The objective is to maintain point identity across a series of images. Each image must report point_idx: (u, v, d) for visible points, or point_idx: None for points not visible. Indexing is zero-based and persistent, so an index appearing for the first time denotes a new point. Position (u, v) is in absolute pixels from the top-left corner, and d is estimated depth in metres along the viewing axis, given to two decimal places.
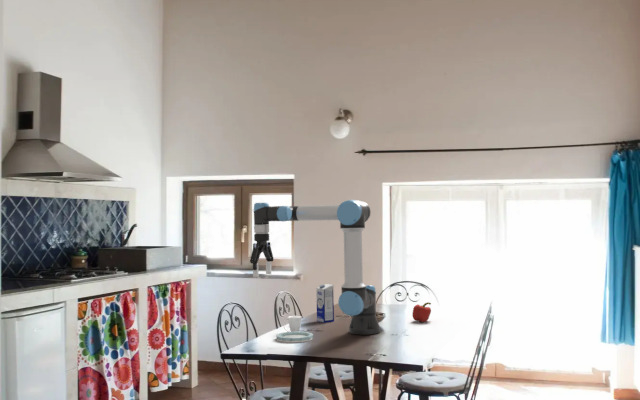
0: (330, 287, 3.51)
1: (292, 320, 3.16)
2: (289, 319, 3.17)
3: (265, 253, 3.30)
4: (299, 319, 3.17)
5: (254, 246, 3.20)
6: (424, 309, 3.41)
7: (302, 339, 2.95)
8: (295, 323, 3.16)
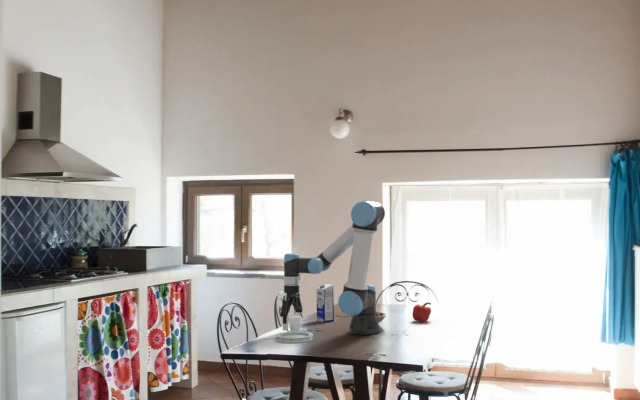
0: (330, 287, 3.51)
1: (292, 320, 3.16)
2: (289, 319, 3.17)
3: (294, 304, 3.23)
4: (299, 319, 3.17)
5: (284, 299, 3.13)
6: (424, 309, 3.41)
7: (302, 339, 2.95)
8: (295, 323, 3.16)
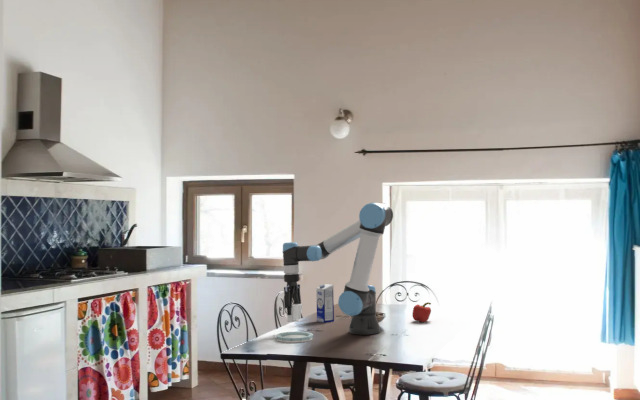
0: (330, 287, 3.51)
1: (293, 308, 3.16)
2: None
3: (294, 295, 3.22)
4: (300, 307, 3.17)
5: (285, 290, 3.14)
6: (424, 309, 3.41)
7: (302, 339, 2.95)
8: (296, 310, 3.16)
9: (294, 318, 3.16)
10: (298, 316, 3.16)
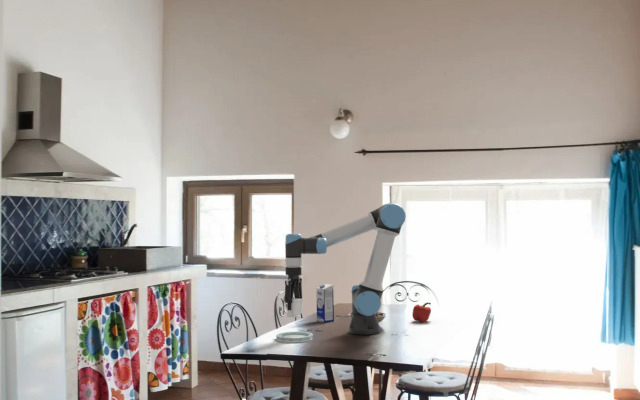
0: (330, 287, 3.51)
1: (293, 302, 3.00)
2: None
3: (295, 289, 3.06)
4: (301, 302, 3.01)
5: (286, 284, 2.98)
6: (424, 309, 3.41)
7: (302, 339, 2.95)
8: (296, 305, 3.00)
9: (294, 313, 3.01)
10: (298, 311, 3.01)
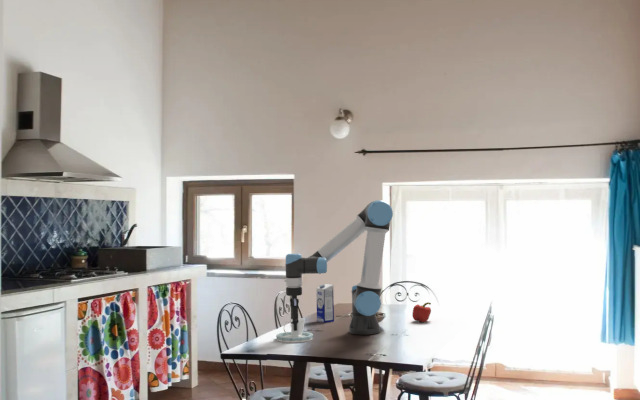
0: (330, 287, 3.51)
1: (298, 323, 3.00)
2: None
3: None
4: (303, 321, 3.03)
5: (294, 304, 2.97)
6: (424, 309, 3.41)
7: (302, 339, 2.95)
8: (300, 325, 3.01)
9: (298, 333, 3.01)
10: (302, 331, 3.02)
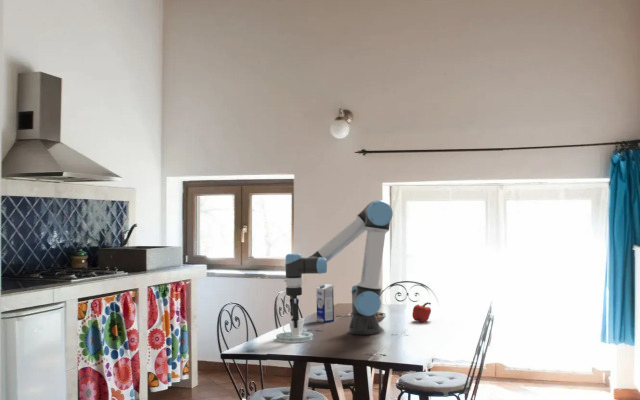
0: (330, 287, 3.51)
1: None
2: None
3: None
4: (302, 321, 3.05)
5: (294, 302, 2.97)
6: (424, 309, 3.41)
7: (302, 339, 2.95)
8: (300, 325, 3.03)
9: None
10: (301, 331, 3.05)
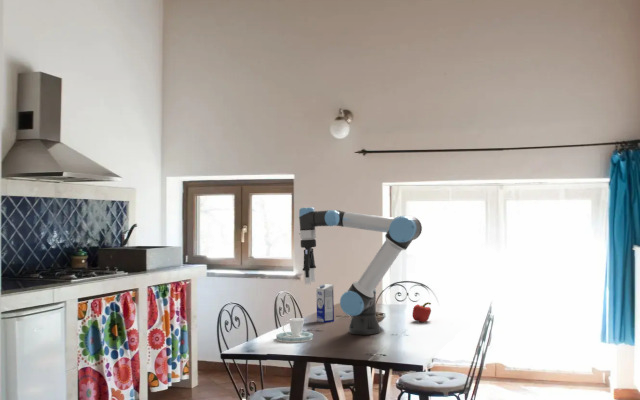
0: (330, 287, 3.51)
1: (297, 323, 3.03)
2: (293, 322, 3.03)
3: (310, 260, 3.19)
4: (302, 321, 3.05)
5: (305, 252, 3.08)
6: (424, 309, 3.41)
7: (302, 339, 2.95)
8: (300, 325, 3.03)
9: (297, 333, 3.04)
10: (301, 331, 3.05)
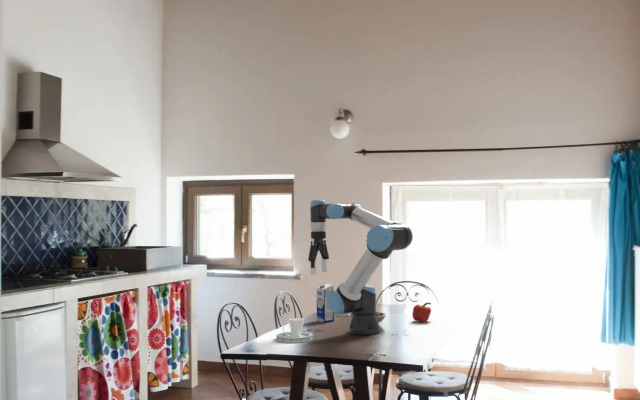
0: (330, 287, 3.51)
1: (297, 323, 3.03)
2: (293, 322, 3.03)
3: (321, 251, 3.28)
4: (302, 321, 3.05)
5: (312, 244, 3.18)
6: (424, 309, 3.41)
7: (302, 339, 2.95)
8: (300, 325, 3.03)
9: (297, 333, 3.04)
10: (301, 331, 3.05)
